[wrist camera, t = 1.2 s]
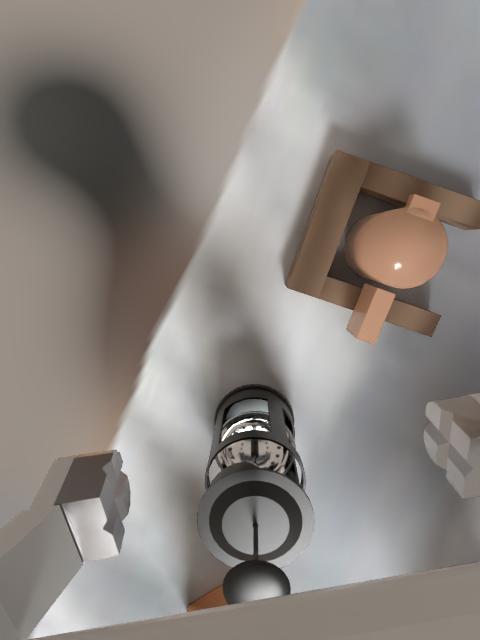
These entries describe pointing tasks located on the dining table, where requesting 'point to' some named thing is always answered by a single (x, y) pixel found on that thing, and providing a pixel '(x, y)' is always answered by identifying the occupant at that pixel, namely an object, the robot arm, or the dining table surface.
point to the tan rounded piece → (393, 258)
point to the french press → (255, 497)
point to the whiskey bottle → (209, 600)
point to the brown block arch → (331, 220)
